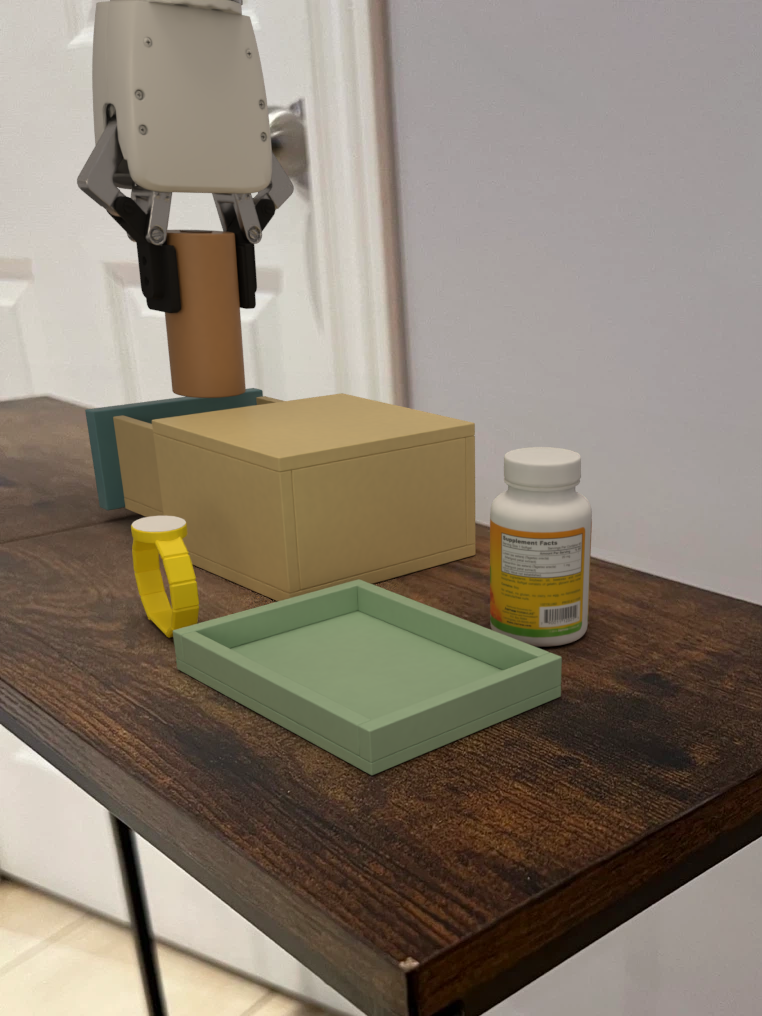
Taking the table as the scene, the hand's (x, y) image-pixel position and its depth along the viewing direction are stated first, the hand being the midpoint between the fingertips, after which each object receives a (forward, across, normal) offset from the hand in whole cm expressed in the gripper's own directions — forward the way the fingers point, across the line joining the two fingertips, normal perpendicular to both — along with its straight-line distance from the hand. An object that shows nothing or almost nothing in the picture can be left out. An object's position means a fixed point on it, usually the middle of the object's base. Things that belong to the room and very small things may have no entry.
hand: (202, 305), depth 75 cm
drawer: (+14, 0, -1) cm, 14 cm away
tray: (+14, +10, +30) cm, 34 cm away
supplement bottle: (+14, -1, +31) cm, 34 cm away
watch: (+15, +13, +17) cm, 26 cm away
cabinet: (+14, 0, +11) cm, 18 cm away
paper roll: (+5, 0, 0) cm, 5 cm away
